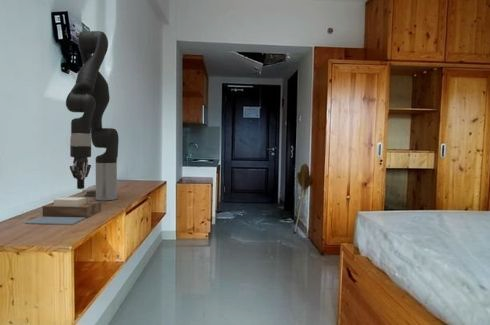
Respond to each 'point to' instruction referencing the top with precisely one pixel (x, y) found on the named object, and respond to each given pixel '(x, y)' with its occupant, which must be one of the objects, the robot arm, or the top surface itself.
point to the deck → (72, 210)
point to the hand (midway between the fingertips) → (80, 188)
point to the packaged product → (90, 190)
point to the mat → (56, 220)
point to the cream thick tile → (70, 201)
